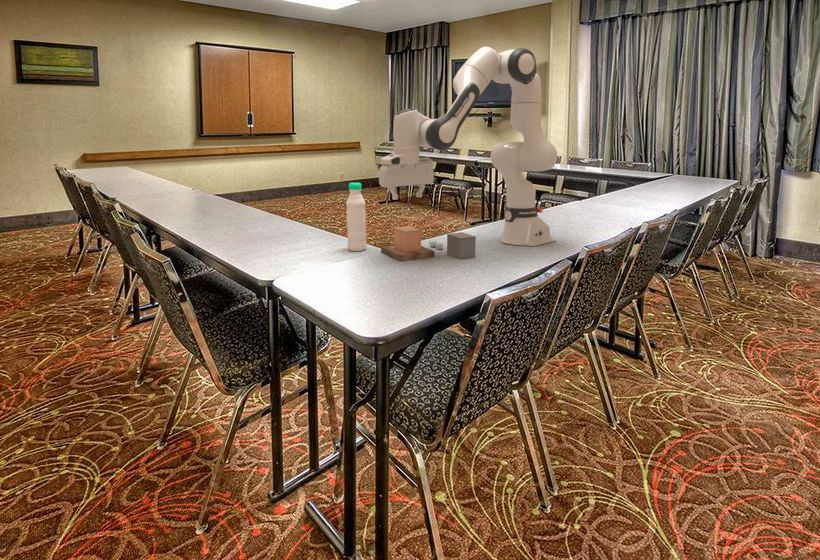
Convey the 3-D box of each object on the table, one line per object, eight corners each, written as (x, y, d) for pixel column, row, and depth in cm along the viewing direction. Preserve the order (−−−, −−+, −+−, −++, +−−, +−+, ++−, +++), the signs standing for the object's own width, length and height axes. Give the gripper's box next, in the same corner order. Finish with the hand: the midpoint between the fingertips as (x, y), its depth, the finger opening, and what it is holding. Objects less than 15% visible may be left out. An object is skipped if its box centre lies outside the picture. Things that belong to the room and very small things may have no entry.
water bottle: (363, 252, 192) (361, 184, 185) (345, 251, 194) (342, 183, 187) (368, 248, 199) (367, 182, 192) (351, 247, 200) (348, 181, 193)
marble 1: (431, 249, 200) (434, 246, 202) (437, 245, 198) (439, 242, 200) (426, 243, 199) (429, 240, 202) (432, 239, 198) (434, 236, 200)
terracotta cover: (409, 245, 193) (409, 225, 191) (420, 250, 186) (420, 229, 184) (394, 247, 190) (394, 227, 188) (405, 252, 183) (405, 231, 181)
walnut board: (414, 248, 198) (414, 243, 198) (434, 256, 186) (434, 251, 185) (381, 252, 192) (381, 247, 191) (399, 261, 179) (399, 255, 179)
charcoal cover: (461, 252, 192) (462, 232, 190) (475, 257, 184) (475, 236, 182) (447, 254, 189) (447, 233, 187) (460, 259, 182) (460, 238, 179)
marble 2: (435, 250, 197) (440, 246, 199) (441, 250, 195) (446, 246, 197) (432, 244, 196) (437, 239, 197) (438, 244, 194) (443, 239, 195)
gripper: (428, 156, 186) (428, 194, 190) (376, 159, 177) (377, 199, 181) (437, 157, 181) (437, 197, 185) (384, 160, 172) (385, 201, 176)
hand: (407, 198), depth 183 cm, fingers open, 8 cm apart
